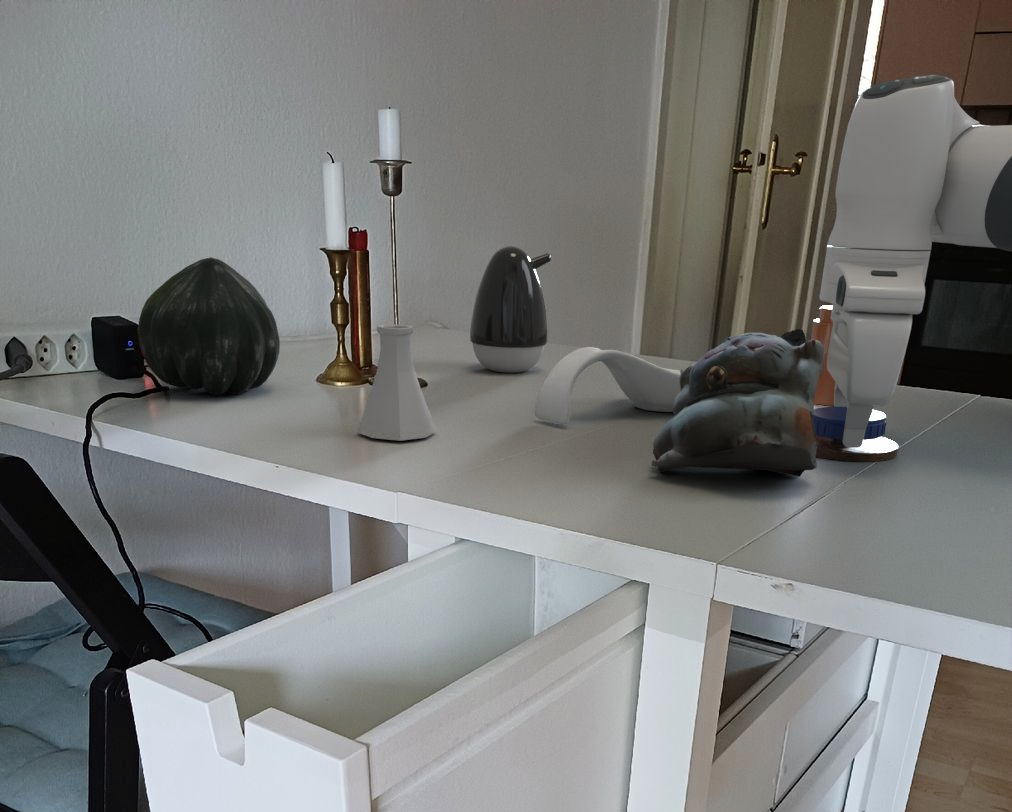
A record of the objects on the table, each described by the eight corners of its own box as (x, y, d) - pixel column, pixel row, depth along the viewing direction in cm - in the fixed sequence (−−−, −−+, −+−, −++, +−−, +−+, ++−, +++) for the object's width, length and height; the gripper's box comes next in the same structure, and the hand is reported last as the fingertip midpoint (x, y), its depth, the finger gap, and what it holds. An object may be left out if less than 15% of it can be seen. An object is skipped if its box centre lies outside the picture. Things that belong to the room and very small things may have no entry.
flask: (449, 434, 99) (450, 326, 95) (402, 446, 93) (400, 333, 89) (392, 423, 103) (390, 319, 98) (343, 435, 97) (339, 325, 93)
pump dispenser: (557, 375, 132) (563, 249, 125) (479, 376, 129) (482, 247, 123) (534, 362, 141) (539, 244, 134) (461, 363, 138) (463, 243, 132)
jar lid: (794, 432, 97) (796, 413, 97) (831, 421, 102) (834, 403, 101) (861, 444, 93) (864, 424, 92) (897, 432, 97) (900, 413, 96)
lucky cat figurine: (618, 469, 88) (638, 313, 88) (700, 503, 96) (718, 360, 97) (769, 450, 77) (790, 272, 77) (846, 490, 85) (865, 329, 86)
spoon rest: (659, 394, 122) (665, 331, 119) (738, 410, 114) (746, 344, 111) (512, 415, 108) (514, 345, 104) (591, 436, 100) (596, 360, 97)
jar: (844, 396, 124) (860, 305, 120) (865, 406, 118) (882, 311, 114) (794, 395, 124) (807, 304, 119) (812, 405, 118) (827, 310, 113)
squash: (181, 326, 123) (138, 229, 109) (302, 337, 122) (274, 240, 108) (152, 422, 118) (103, 332, 104) (278, 434, 117) (245, 345, 103)
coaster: (871, 438, 103) (873, 430, 102) (915, 462, 94) (916, 453, 93) (776, 436, 102) (777, 429, 102) (810, 461, 93) (811, 452, 93)
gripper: (825, 273, 101) (803, 413, 107) (849, 290, 83) (822, 458, 89) (890, 275, 100) (865, 417, 106) (929, 294, 82) (896, 463, 88)
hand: (846, 436), depth 97 cm, fingers closed on jar lid, 7 cm apart
